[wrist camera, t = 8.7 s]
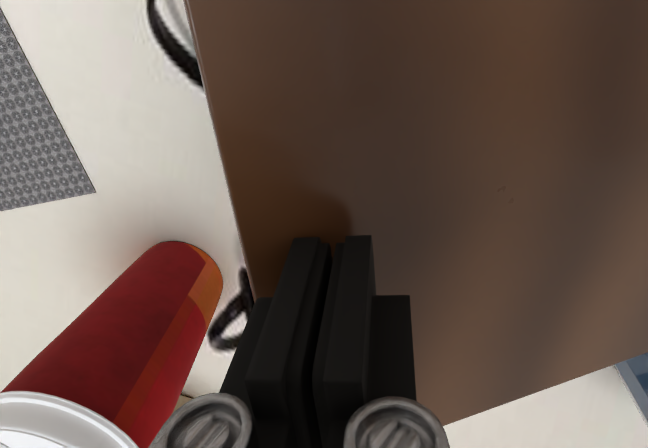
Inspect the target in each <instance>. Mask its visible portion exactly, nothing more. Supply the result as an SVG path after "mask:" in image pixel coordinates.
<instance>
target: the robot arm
mask: <svg viewBox="0 0 648 448" xmlns="http://www.w3.org/2000/svg"><path fill="white" fill-rule="evenodd" d="M148 448H450V446H449V443H448V439H447V436H446V433H445V431H444V428H443V426H442V424H441V422H440V420H439V419H438V418H437V417H436V416H435V414H434V413H433V412H432V411H431V410H430V409H429V408H427V407H425V406H424V405H422V404H420V403H419V402H417V399H416V383H415V368H414V353H413V338H412V322H411V307H410V295H376V283H375V269H374V256H373V243H372V235H356V236H346V238H345V243H336V247H335V252H334V258H333V262H332V254H331V247H330V244H329V243H321V239H320V237H302V238H294V239H293V242H292V244H291V247H290V250H289V253H288V256H287V259H286V262H285V265H284V267H283V270H282V273H281V276H280V279H279V282H278V285H277V287H276V290H275V293H274V296H273V297H259V298H258V299H257V300H256V302H255V304H254V306H253V309H252V311H251V314H250V316H249V319H248V321H247V324H246V326H245V329H244V331H243V334H242V336H241V339H240V341H239V344H238V346H237V349H236V351H235V354H234V356H233V359H232V361H231V364H230V366H229V369H228V371H227V374H226V377H225V379H224V382H223V384H222V387H221V389H220V392H219V393H211V394H207V395H203V396H199V397H197V398H195V399H193V400H191V401H188V402H186V403H185V404H184V405H182V406H181V407H180V408H178V409H177V410H176V411H174V412H173V413H172V415H171V416H170V417H169V418H168V419H167V421H166V422H165V423H164V424H163V426H162V427H161V429H160V430H159V432H158V433H157V435H156V437H155V438H154V440H153V441H152V443H151V444H150V446H149V447H148Z"/></svg>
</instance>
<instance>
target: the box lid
mask: <svg viewBox="0 0 648 448" xmlns="http://www.w3.org/2000/svg"><path fill="white" fill-rule="evenodd" d="M183 2H184V6H185V10H186V14H187V19H188V23H189V27H190V31H191V36H192V40H193V44H194V48H195V53H196V57H197V61H198V65H199V69H200V74H201V78H202V82H203V86H204V91H205V95H206V99H207V103H208V108H209V112H210V116H211V120H212V125H213V129H214V133H215V137H216V142H217V146H218V150H219V154H220V158H221V163H222V167H223V171H224V175H225V180H226V184H227V188H228V192H229V197H230V201H231V205H232V209H233V214H234V218H235V222H236V226H237V230H238V235H239V239H240V243H241V247H242V252H243V256H244V260H245V264H246V269H247V273H248V277H249V281H250V286H251V290H252V294H253V298H254V303H255V302H256V300H257V299H258V298H259V297H273V296H274V293H275V290H276V287H277V285H278V282H279V279H280V276H281V273H282V270H283V267H284V265H285V262H286V259H287V256H288V253H289V250H290V247H291V244H292V242H293V239H294V238H302V237H320V239H321V243H329V244H330V247H331V254H332V262H333V258H334V252H335V247H336V243H345V238H346V236H356V235H372V243H373V256H374V269H375V283H376V295H410V307H411V322H412V338H413V353H414V368H415V383H416V399H417V402H419V403H420V404H422V405H424V406H425V407H427V408H429V409H430V410H431V411H432V412H433V413H434V414H435V416H436V417H437V418H438V419H439V420H440V422H441V424H442V426H444V425H447V424H450V423H453V422H456V421H458V420H461V419H464V418H467V417H469V416H472V415H475V414H478V413H481V412H483V411H486V410H489V409H492V408H494V407H497V406H500V405H503V404H506V403H508V402H511V401H514V400H517V399H519V398H522V397H525V396H528V395H531V394H533V393H536V392H539V391H542V390H544V389H547V388H550V387H553V386H556V385H558V384H561V383H564V382H567V381H569V380H572V379H575V378H578V377H581V376H583V375H586V374H589V373H592V372H594V371H597V370H600V369H603V368H606V367H608V366H611V365H614V364H617V363H619V362H622V361H625V360H628V359H631V358H633V357H636V356H639V355H642V354H645V353H647V352H648V0H183Z"/></svg>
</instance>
